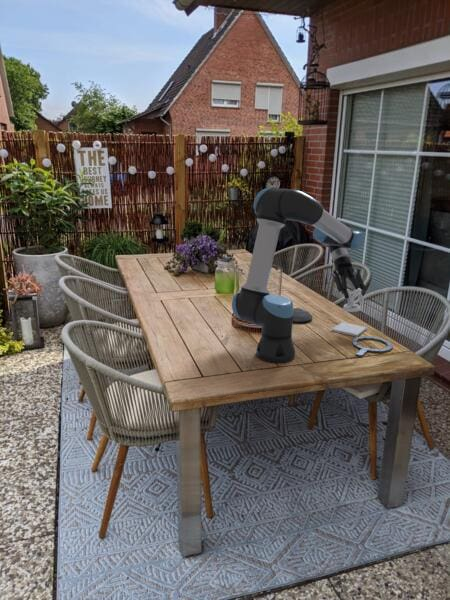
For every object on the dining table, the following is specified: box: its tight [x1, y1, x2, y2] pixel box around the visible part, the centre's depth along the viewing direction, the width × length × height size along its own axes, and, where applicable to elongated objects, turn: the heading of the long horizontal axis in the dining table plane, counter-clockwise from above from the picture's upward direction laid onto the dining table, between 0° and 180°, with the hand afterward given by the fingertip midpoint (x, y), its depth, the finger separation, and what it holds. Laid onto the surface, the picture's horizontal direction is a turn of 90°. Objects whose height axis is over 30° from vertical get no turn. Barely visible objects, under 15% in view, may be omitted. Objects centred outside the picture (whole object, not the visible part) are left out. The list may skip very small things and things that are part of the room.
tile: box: [331, 321, 368, 338], centre depth 203 cm, size 12×12×1 cm
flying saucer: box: [293, 307, 313, 323], centre depth 218 cm, size 15×15×6 cm
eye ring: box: [351, 335, 394, 358], centre depth 184 cm, size 23×16×1 cm
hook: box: [342, 288, 363, 313], centre depth 199 cm, size 8×12×7 cm
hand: (356, 303), depth 196 cm, fingers closed on hook, 5 cm apart
